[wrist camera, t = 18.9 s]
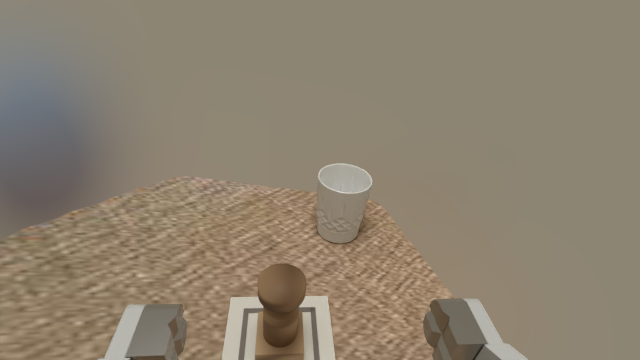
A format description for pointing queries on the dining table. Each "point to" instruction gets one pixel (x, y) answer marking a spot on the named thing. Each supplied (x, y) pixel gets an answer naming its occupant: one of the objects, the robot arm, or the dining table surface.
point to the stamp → (280, 313)
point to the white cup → (341, 201)
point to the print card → (244, 328)
